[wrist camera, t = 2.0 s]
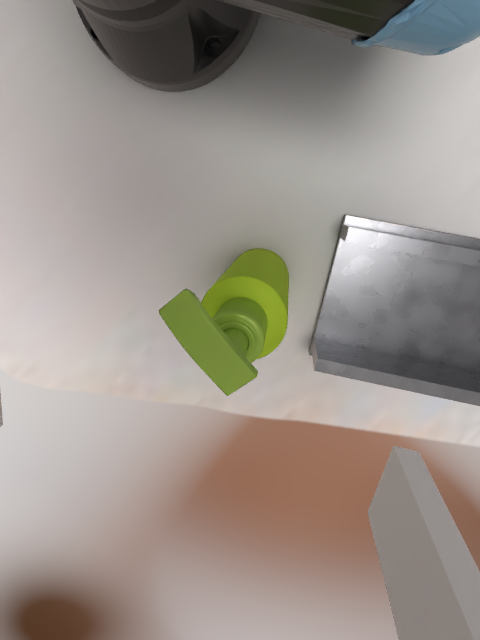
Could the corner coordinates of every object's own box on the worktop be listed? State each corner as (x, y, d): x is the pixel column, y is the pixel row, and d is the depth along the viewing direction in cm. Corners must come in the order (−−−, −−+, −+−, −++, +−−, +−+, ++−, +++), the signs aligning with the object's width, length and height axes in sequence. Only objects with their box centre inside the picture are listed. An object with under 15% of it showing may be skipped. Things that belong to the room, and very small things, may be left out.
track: (344, 214, 32) (355, 218, 27) (596, 260, 31) (663, 274, 25) (309, 351, 37) (312, 378, 32) (525, 396, 36) (568, 433, 30)
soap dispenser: (257, 227, 34) (216, 263, 15) (300, 283, 35) (311, 381, 16) (212, 264, 36) (124, 337, 17) (254, 316, 37) (216, 439, 18)
